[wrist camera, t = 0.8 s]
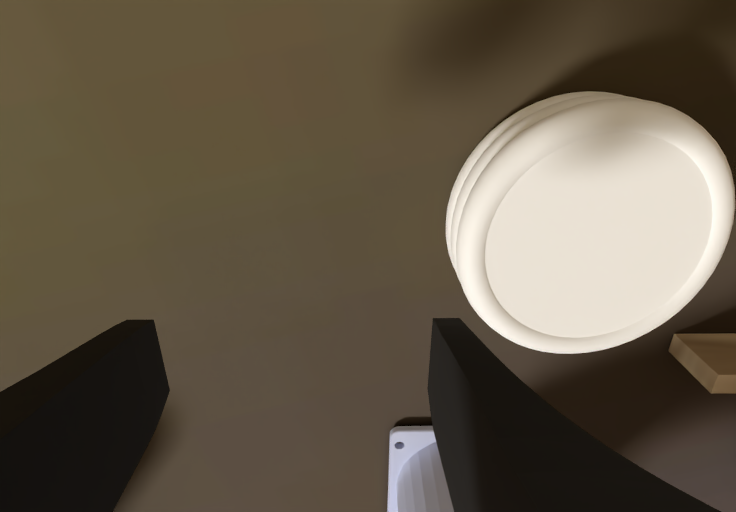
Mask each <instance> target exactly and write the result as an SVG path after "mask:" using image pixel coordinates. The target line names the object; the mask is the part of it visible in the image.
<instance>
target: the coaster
mask: <svg viewBox="0 0 736 512" xmlns="http://www.w3.org/2000/svg"><path fill="white" fill-rule="evenodd" d="M734 212H735V187H734V182H733V177H732V172H731V169H730V167H729V164H728V162H727V159H726V156H725V154H724V153H723V151H722V150H721V148H720V146H719V145H718V143H717V142H716V141H715V139H714V138H713V137H712V136H711V135H710V134H709V133H708V132H707V131H706V130H705V129H704V128H703V127H702V126H701V125H700V124H698V123H697V122H696V121H695V120H693V119H692V118H691V117H689V116H688V115H686V114H684V113H682V112H680V111H679V110H677V109H675V108H673V107H670V106H667V105H664V104H661V103H658V102H654V101H648V100H642V99H638V98H634V97H628V96H623V95H620V94H614V93H608V92H594V91H585V92H574V93H567V94H562V95H558V96H553V97H550V98H547V99H544V100H541V101H539V102H536V103H534V104H532V105H530V106H528V107H526V108H524V109H522V110H520V111H518V112H516V113H515V114H513V115H512V116H510V117H509V118H507V119H506V120H504V121H503V122H501V123H500V124H499V125H498V126H497V127H495V128H494V129H493V130H492V131H490V132H489V133H488V134H487V136H486V137H485V138H484V139H483V140H482V141H481V142H480V143H479V144H478V145H477V146H476V148H475V149H474V150H473V152H472V153H471V154H470V156H469V157H468V158H467V160H466V162H465V164H464V165H463V167H462V169H461V171H460V172H459V174H458V177H457V179H456V182H455V184H454V186H453V189H452V192H451V195H450V199H449V203H448V207H447V216H446V241H447V247H448V252H449V255H450V258H451V261H452V264H453V267H454V269H455V271H456V273H457V276H458V279H459V281H460V283H461V285H462V288H463V291H464V293H465V295H466V297H467V299H468V301H469V303H470V304H471V306H472V307H473V308H474V310H475V311H476V313H477V314H478V315H479V316H480V317H481V318H482V319H483V320H484V321H485V322H486V323H487V324H488V325H489V326H490V327H491V328H492V329H494V330H495V331H497V332H498V333H499V334H501V335H502V336H503V337H505V338H507V339H509V340H511V341H513V342H514V343H516V344H519V345H522V346H524V347H527V348H530V349H534V350H538V351H542V352H550V353H562V354H575V353H588V352H593V351H599V350H604V349H608V348H611V347H615V346H618V345H621V344H624V343H626V342H629V341H632V340H634V339H636V338H638V337H640V336H642V335H644V334H646V333H648V332H650V331H652V330H653V329H655V328H657V327H658V326H660V325H662V324H663V323H664V322H666V321H667V320H668V319H670V318H671V317H672V316H674V315H675V314H676V313H678V312H679V311H680V310H681V309H682V308H683V307H684V306H685V305H686V304H687V303H688V302H690V301H691V299H692V298H693V297H694V296H695V295H696V294H697V293H698V292H699V290H700V289H701V288H702V287H703V286H704V284H705V283H706V281H707V280H708V279H709V277H710V276H711V274H712V273H713V272H714V270H715V268H716V266H717V264H718V262H719V261H720V259H721V257H722V255H723V252H724V250H725V247H726V245H727V242H728V240H729V236H730V232H731V229H732V225H733V220H734Z"/></svg>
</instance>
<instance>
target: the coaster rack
mask: <svg viewBox="0 0 736 512" xmlns="http://www.w3.org/2000/svg"><path fill="white" fill-rule="evenodd" d="M668 351H669V352H670V353H671V354H672V355H673V356H674V357H675V358H676V359H677V360H678V361H679V362H680V363H681V364H682V365H683V366H684V367H685V368H686V369H687V370H688V371H689V372H690V373H691V374H692V375H693V376H694V377H695V378H696V379H697V380H698V381H699V382H700V383H701V384H702V385H703V386H704V387H705V388H706V389H707V390H708V391H709V392H710V393H736V333H717V334H674V335H673V338H672V341H671V344H670V347H669V350H668Z"/></svg>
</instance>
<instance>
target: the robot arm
mask: <svg viewBox="0 0 736 512" xmlns="http://www.w3.org/2000/svg"><path fill="white" fill-rule="evenodd" d="M169 391H170V389H169V385H168V380H167V376H166V372H165V367H164V363H163V359H162V354H161V350H160V345H159V341H158V337H157V332H156V328H155V323H154V320H126V321H124V322H121V323H119V324H117V325H115V326H114V327H112V328H110V329H108V330H106V331H105V332H103V333H101V334H99V335H98V336H96V337H94V338H93V339H91V340H89V341H88V342H86V343H84V344H83V345H81V346H79V347H78V348H76V349H74V350H72V351H71V352H69V353H67V354H66V355H64V356H62V357H61V358H59V359H57V360H56V361H54V362H52V363H51V364H49V365H47V366H46V367H44V368H42V369H41V370H39V371H37V372H35V373H34V374H32V375H30V376H28V377H26V378H25V379H23V380H21V381H19V382H17V383H16V384H14V385H12V386H10V387H8V388H7V389H5V390H3V391H1V392H0V512H113V510H114V508H115V506H116V504H117V502H118V500H119V498H120V497H121V495H122V493H123V491H124V489H125V487H126V485H127V483H128V482H129V480H130V478H131V476H132V474H133V472H134V470H135V468H136V467H137V465H138V463H139V461H140V459H141V457H142V455H143V453H144V451H145V449H146V447H147V446H148V444H149V442H150V440H151V438H152V436H153V434H154V432H155V429H156V427H157V424H158V422H159V419H160V417H161V414H162V411H163V408H164V405H165V403H166V400H167V397H168V394H169ZM428 395H429V403H430V411H431V418H432V425H433V426H397V427H394V428H393V429H392V430H391V431H390V444H389V475H388V505H387V512H720V511H719V510H717V509H715V508H713V507H711V506H709V505H707V504H705V503H703V502H701V501H700V500H698V499H696V498H694V497H692V496H690V495H688V494H687V493H685V492H683V491H681V490H679V489H677V488H675V487H674V486H672V485H670V484H668V483H666V482H665V481H663V480H661V479H660V478H658V477H656V476H654V475H653V474H651V473H649V472H647V471H646V470H644V469H642V468H641V467H639V466H637V465H636V464H634V463H633V462H631V461H630V460H628V459H626V458H625V457H623V456H622V455H620V454H618V453H617V452H615V451H614V450H612V449H610V448H609V447H607V446H606V445H604V444H603V443H601V442H600V441H598V440H597V439H595V438H594V437H592V436H591V435H589V434H588V433H587V432H585V431H584V430H583V429H581V428H580V427H578V426H577V425H576V424H574V423H573V422H572V421H570V420H569V419H568V418H566V417H565V416H563V415H562V414H561V413H559V412H558V411H557V410H556V409H554V408H553V407H552V406H551V405H549V404H548V403H547V402H546V401H544V400H543V399H542V398H541V397H540V396H539V395H537V394H536V393H535V392H534V391H533V390H532V389H530V388H529V387H528V386H527V385H526V384H525V383H523V382H522V381H521V380H520V379H519V378H518V377H517V376H516V375H515V374H514V373H512V372H511V371H510V370H509V369H508V368H507V367H506V366H505V365H504V364H503V363H502V362H501V361H500V360H499V359H498V358H497V357H496V356H495V355H494V354H493V353H492V352H491V351H490V350H489V349H488V348H487V347H486V346H485V345H484V344H483V342H482V341H481V340H480V339H479V338H478V337H477V336H476V335H475V334H474V333H473V332H472V331H471V330H470V329H469V328H468V327H467V326H466V325H465V324H464V322H463V321H462V320H461V319H460V318H433V324H432V338H431V351H430V364H429V377H428ZM397 442H402V443H397Z"/></svg>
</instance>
